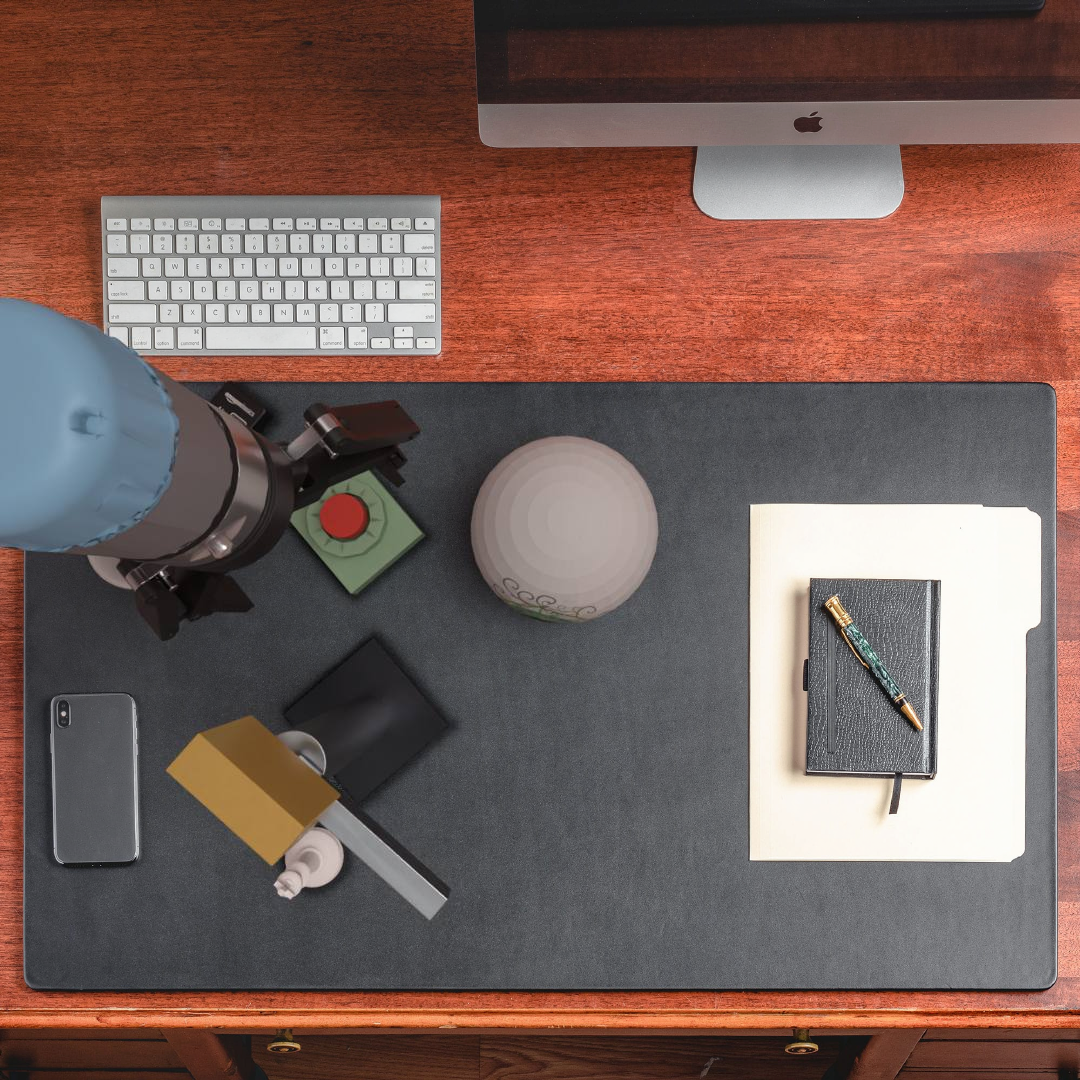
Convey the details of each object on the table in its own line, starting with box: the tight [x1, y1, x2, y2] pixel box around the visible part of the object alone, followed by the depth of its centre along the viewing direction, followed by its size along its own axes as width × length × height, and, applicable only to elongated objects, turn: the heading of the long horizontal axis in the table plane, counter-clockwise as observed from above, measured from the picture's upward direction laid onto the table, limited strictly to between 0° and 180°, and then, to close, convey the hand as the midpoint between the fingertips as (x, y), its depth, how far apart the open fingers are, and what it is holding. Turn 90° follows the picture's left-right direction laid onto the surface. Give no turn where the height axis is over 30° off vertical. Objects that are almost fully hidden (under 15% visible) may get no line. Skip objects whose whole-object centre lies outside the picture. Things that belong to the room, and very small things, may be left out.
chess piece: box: [273, 826, 344, 900], centre depth 71 cm, size 5×5×10 cm
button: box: [320, 494, 367, 539], centre depth 74 cm, size 4×4×2 cm
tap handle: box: [165, 714, 452, 922], centre depth 48 cm, size 16×2×10 cm, turn 49°
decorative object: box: [470, 435, 659, 625], centre depth 71 cm, size 15×15×15 cm
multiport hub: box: [208, 380, 274, 434], centre depth 78 cm, size 4×11×2 cm, turn 142°
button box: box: [289, 470, 426, 595], centre depth 76 cm, size 10×8×4 cm
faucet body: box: [275, 636, 450, 805], centre depth 65 cm, size 10×10×24 cm
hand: (314, 532), depth 62 cm, fingers open, 13 cm apart
